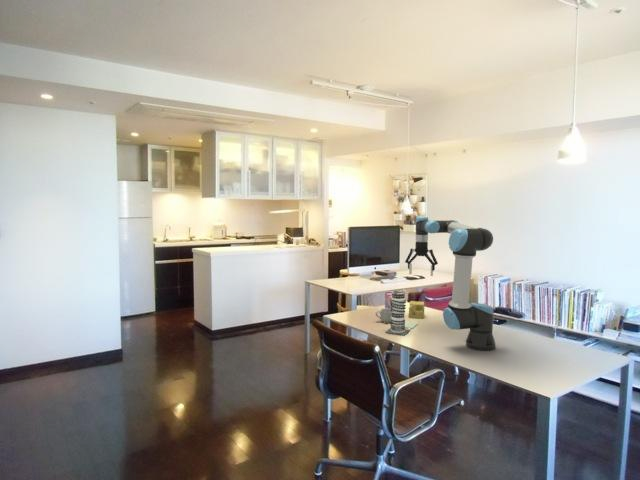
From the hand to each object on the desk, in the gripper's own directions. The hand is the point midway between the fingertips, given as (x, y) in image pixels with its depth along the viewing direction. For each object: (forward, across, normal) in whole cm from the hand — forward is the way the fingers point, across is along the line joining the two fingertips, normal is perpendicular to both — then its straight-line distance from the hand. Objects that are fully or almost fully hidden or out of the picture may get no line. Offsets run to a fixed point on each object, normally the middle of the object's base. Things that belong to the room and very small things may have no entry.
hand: (420, 274), depth 271 cm
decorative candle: (+32, +8, +20) cm, 39 cm away
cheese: (+33, +8, -21) cm, 40 cm away
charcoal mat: (+33, +8, +20) cm, 39 cm away
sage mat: (+33, +8, +4) cm, 34 cm away
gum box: (+33, +25, -20) cm, 46 cm away
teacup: (+33, +22, +2) cm, 40 cm away
